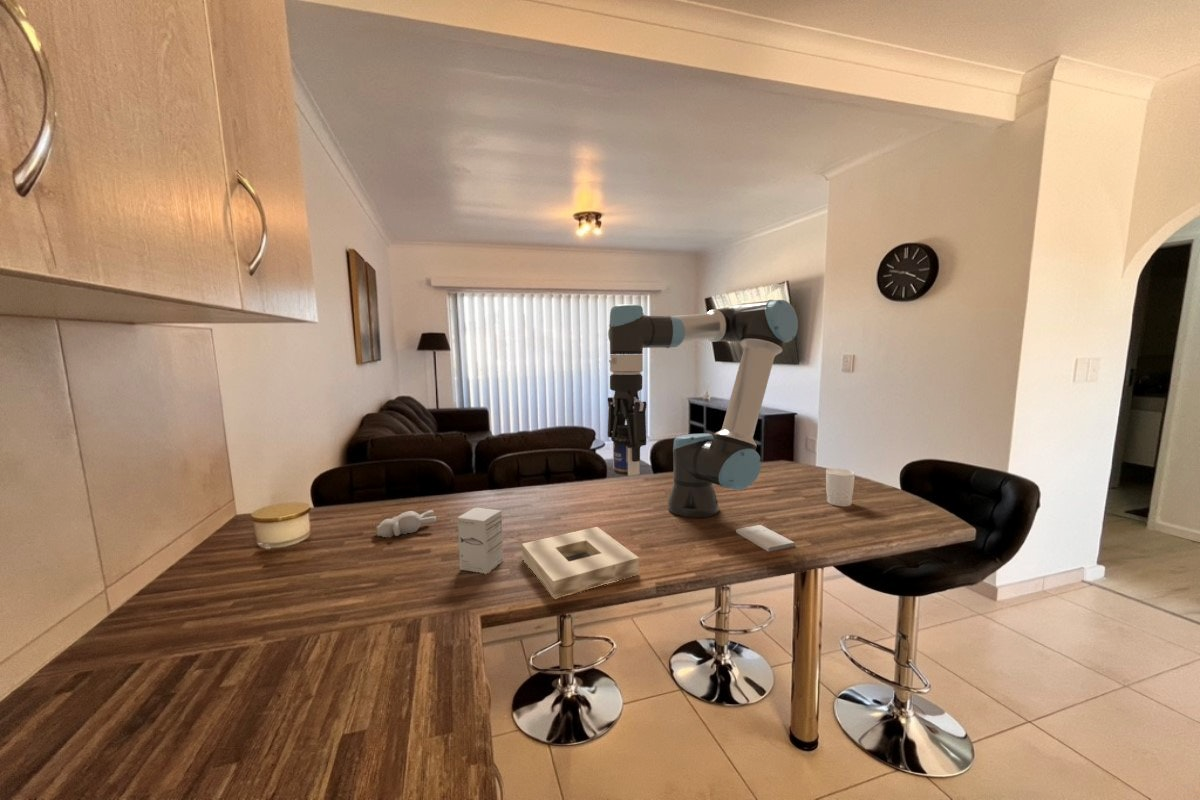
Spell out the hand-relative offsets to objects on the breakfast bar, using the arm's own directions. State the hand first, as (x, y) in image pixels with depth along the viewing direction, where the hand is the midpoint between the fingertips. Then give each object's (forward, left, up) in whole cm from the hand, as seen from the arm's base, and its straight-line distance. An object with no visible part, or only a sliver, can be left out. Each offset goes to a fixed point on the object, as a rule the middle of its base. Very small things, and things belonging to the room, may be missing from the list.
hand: (625, 471), depth 107 cm
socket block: (+13, 0, -21) cm, 24 cm away
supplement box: (+32, -12, -21) cm, 40 cm away
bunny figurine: (+46, -43, -21) cm, 66 cm away
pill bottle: (0, 0, -1) cm, 1 cm away
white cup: (-75, +3, -21) cm, 78 cm away
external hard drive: (-35, +10, -21) cm, 42 cm away
